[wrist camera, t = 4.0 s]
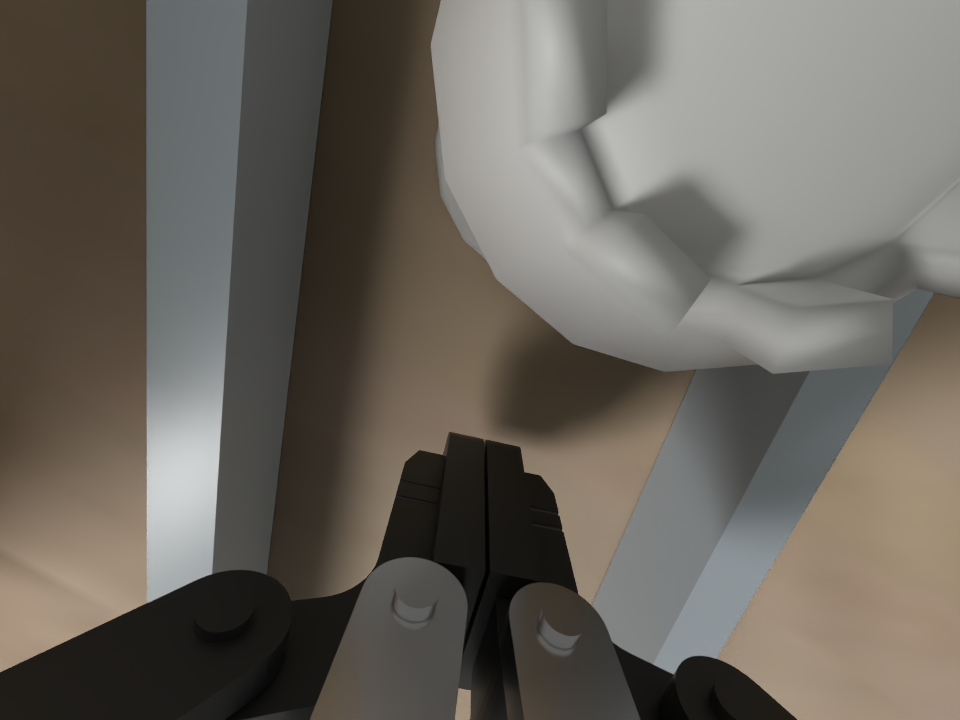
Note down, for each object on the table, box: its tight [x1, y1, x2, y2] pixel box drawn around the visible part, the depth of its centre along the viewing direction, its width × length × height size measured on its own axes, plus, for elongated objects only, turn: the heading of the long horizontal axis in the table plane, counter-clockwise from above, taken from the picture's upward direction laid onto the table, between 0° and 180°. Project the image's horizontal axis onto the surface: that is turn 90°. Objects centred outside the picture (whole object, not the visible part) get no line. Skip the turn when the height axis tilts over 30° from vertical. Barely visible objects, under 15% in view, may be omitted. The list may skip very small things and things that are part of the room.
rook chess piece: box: [431, 0, 960, 374], centre depth 5 cm, size 4×4×8 cm
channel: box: [146, 0, 935, 674], centre depth 10 cm, size 11×22×3 cm, turn 166°
